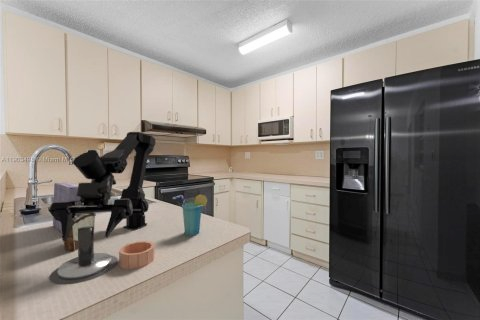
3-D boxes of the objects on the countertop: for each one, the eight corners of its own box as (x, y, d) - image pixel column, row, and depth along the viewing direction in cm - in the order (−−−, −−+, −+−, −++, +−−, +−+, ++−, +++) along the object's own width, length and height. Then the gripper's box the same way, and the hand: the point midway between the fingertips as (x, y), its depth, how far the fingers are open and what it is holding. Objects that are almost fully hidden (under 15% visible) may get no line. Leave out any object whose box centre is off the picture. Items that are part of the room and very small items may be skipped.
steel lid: (46, 275, 50) (45, 233, 50) (91, 254, 61) (90, 220, 61) (80, 284, 47) (79, 239, 47) (121, 260, 58) (121, 223, 57)
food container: (77, 239, 74) (77, 210, 73) (96, 238, 74) (95, 209, 74) (48, 255, 61) (48, 221, 61) (71, 255, 62) (70, 220, 62)
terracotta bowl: (112, 267, 55) (111, 252, 55) (136, 253, 63) (136, 239, 63) (138, 272, 53) (138, 256, 53) (160, 257, 61) (160, 243, 61)
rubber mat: (34, 279, 49) (34, 277, 49) (92, 253, 63) (92, 251, 63) (78, 291, 45) (78, 289, 45) (130, 260, 59) (130, 258, 59)
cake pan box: (84, 233, 79) (84, 185, 79) (68, 237, 75) (67, 187, 75) (67, 223, 90) (67, 181, 90) (52, 226, 86) (51, 182, 86)
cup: (178, 242, 71) (178, 197, 71) (167, 235, 77) (167, 194, 76) (211, 231, 81) (211, 192, 81) (199, 226, 87) (199, 190, 86)
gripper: (52, 171, 56) (23, 226, 46) (130, 170, 61) (121, 219, 51) (67, 196, 64) (45, 248, 53) (135, 193, 69) (128, 240, 59)
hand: (85, 238), depth 54 cm, fingers open, 9 cm apart
